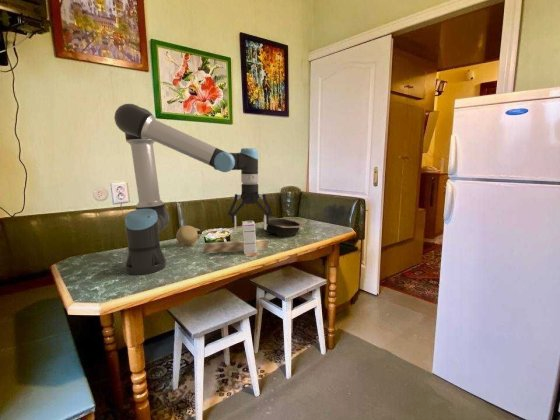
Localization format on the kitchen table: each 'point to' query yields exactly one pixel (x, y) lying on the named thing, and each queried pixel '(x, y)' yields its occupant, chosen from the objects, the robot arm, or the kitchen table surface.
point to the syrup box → (249, 237)
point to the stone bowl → (283, 226)
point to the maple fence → (232, 247)
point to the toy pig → (188, 235)
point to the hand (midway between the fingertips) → (250, 229)
